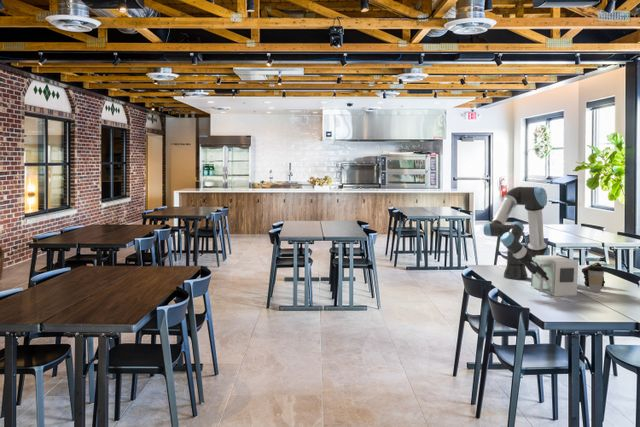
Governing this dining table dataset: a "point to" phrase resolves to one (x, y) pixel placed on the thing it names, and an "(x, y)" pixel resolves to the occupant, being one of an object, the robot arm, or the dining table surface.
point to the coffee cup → (595, 278)
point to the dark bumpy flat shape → (588, 273)
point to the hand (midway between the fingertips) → (546, 281)
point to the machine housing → (563, 274)
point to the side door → (540, 284)
